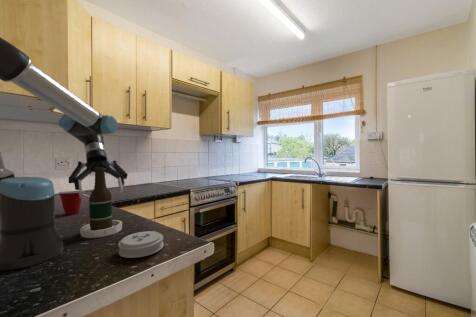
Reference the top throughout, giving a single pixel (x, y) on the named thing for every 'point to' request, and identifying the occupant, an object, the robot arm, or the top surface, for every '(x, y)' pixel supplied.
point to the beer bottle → (100, 203)
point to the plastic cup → (70, 202)
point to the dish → (114, 229)
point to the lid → (140, 244)
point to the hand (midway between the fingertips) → (102, 193)
